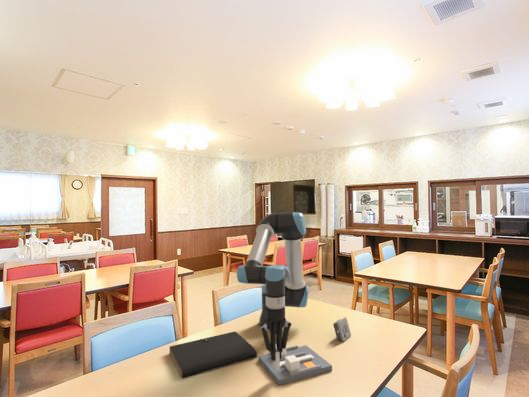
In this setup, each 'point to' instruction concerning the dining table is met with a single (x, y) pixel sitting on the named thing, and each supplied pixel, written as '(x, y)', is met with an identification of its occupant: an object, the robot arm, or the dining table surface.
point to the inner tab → (283, 352)
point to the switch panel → (308, 365)
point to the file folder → (211, 353)
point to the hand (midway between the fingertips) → (276, 368)
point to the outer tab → (292, 363)
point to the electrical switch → (342, 329)
